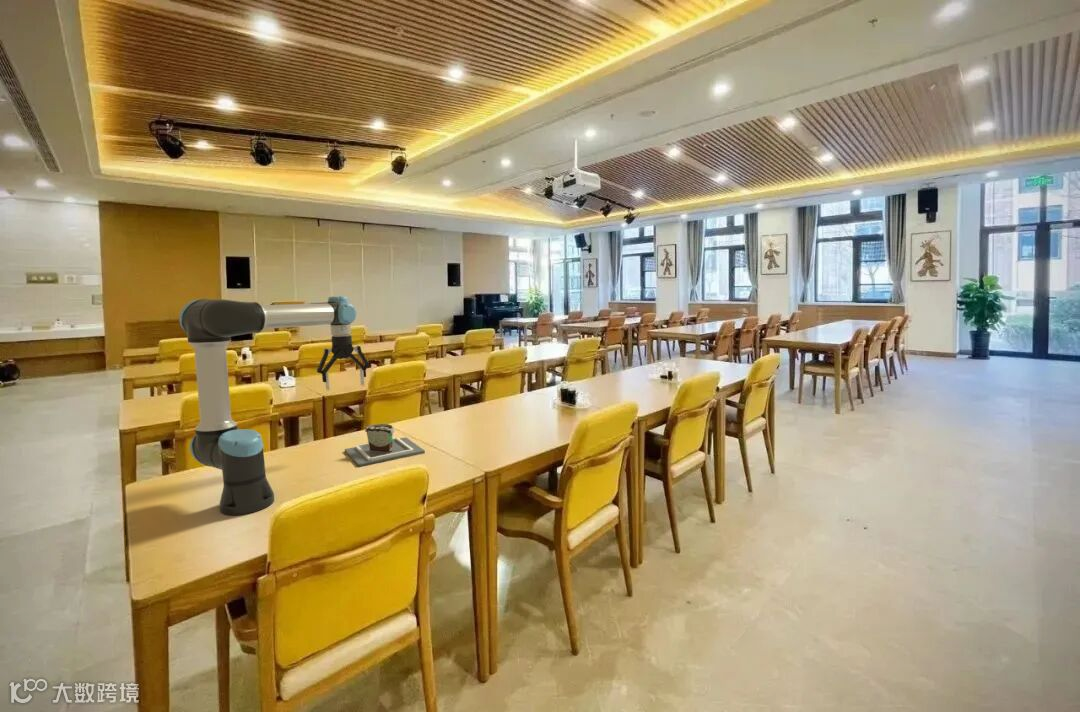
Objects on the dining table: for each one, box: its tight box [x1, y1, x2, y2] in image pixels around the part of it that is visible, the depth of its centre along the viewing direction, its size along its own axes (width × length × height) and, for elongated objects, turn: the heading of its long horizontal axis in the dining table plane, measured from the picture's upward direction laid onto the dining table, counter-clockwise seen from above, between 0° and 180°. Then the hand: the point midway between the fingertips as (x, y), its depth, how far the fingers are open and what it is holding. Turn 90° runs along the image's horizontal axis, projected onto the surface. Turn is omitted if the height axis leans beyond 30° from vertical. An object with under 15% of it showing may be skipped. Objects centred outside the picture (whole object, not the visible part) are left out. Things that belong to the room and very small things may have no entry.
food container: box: [365, 423, 395, 453], centre depth 213 cm, size 12×6×10 cm, turn 72°
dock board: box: [344, 436, 426, 468], centre depth 214 cm, size 26×22×2 cm
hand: (345, 387), depth 212 cm, fingers open, 13 cm apart
